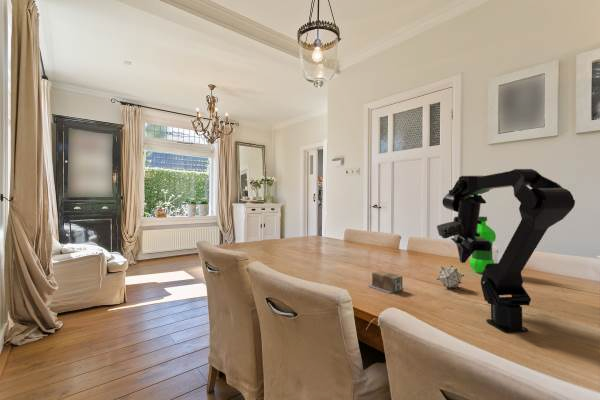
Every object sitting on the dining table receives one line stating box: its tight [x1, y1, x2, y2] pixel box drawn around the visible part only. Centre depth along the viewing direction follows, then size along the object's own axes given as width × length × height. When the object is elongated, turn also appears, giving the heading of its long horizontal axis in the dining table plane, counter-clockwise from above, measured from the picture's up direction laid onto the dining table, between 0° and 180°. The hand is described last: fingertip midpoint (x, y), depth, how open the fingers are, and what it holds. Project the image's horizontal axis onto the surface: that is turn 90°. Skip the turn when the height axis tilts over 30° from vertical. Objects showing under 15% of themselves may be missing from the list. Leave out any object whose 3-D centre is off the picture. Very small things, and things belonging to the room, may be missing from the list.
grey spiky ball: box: [436, 265, 465, 290], centre depth 103 cm, size 9×8×10 cm
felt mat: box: [368, 284, 395, 295], centre depth 105 cm, size 10×8×1 cm
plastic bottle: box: [469, 216, 496, 274], centre depth 124 cm, size 10×10×25 cm
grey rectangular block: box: [371, 270, 404, 293], centre depth 104 cm, size 5×5×10 cm
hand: (462, 262), depth 89 cm, fingers closed
